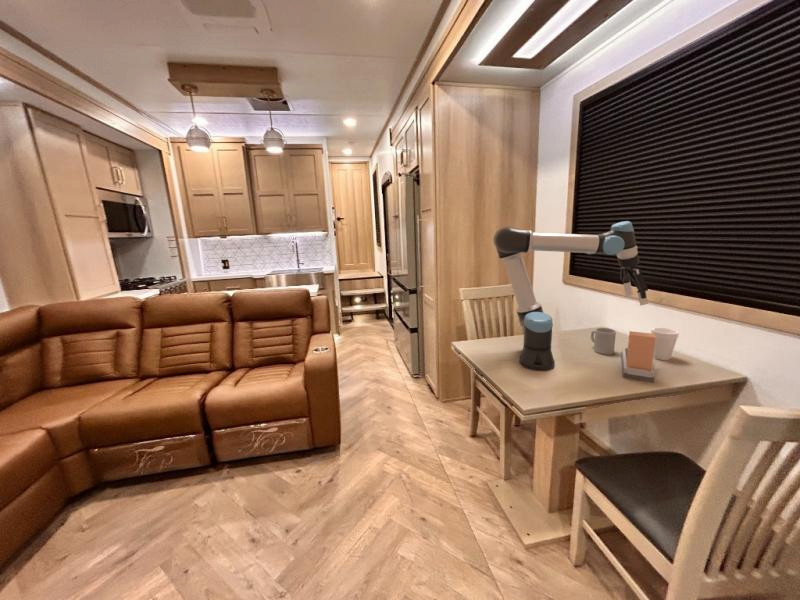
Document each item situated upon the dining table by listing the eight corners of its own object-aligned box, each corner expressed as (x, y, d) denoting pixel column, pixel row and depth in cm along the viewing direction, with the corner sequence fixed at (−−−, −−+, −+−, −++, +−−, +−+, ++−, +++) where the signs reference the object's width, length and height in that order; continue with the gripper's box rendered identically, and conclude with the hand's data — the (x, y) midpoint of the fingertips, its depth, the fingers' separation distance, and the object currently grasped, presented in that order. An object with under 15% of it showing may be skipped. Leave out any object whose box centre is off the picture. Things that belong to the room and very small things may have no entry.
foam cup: (669, 363, 141) (673, 335, 138) (645, 357, 148) (648, 330, 145) (677, 357, 146) (681, 330, 143) (653, 352, 153) (656, 326, 150)
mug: (618, 353, 154) (620, 331, 152) (604, 355, 152) (606, 334, 150) (597, 345, 165) (598, 325, 163) (583, 347, 163) (585, 327, 161)
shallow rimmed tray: (653, 382, 125) (655, 372, 124) (622, 377, 130) (624, 367, 129) (647, 359, 145) (648, 350, 144) (621, 356, 151) (621, 347, 150)
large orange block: (650, 375, 126) (655, 337, 123) (626, 371, 130) (630, 335, 127) (649, 369, 131) (653, 333, 128) (625, 365, 135) (629, 330, 132)
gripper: (652, 258, 128) (661, 306, 133) (624, 249, 151) (632, 289, 156) (631, 264, 130) (640, 311, 135) (607, 254, 154) (615, 294, 158)
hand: (636, 299), depth 146 cm, fingers open, 13 cm apart
